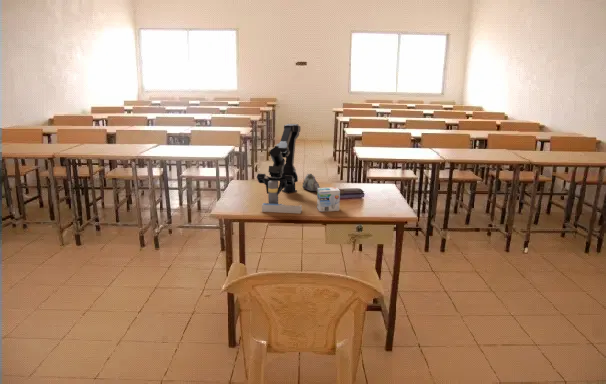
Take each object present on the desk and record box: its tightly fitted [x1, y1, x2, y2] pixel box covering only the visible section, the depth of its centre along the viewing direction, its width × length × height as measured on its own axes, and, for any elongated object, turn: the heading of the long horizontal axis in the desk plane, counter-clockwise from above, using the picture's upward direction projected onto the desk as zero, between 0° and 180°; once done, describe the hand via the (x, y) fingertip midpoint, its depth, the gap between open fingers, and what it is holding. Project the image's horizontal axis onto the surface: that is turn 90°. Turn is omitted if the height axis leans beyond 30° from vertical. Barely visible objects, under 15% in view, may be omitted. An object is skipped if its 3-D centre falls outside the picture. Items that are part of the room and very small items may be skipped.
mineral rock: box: [302, 173, 321, 192], centre depth 265 cm, size 13×11×10 cm
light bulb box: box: [316, 186, 341, 212], centre depth 232 cm, size 11×7×11 cm, turn 101°
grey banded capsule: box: [267, 181, 279, 204], centre depth 232 cm, size 5×5×13 cm
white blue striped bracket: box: [261, 202, 303, 214], centre depth 229 cm, size 20×4×4 cm, turn 83°
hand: (272, 193), depth 230 cm, fingers closed on grey banded capsule, 5 cm apart
